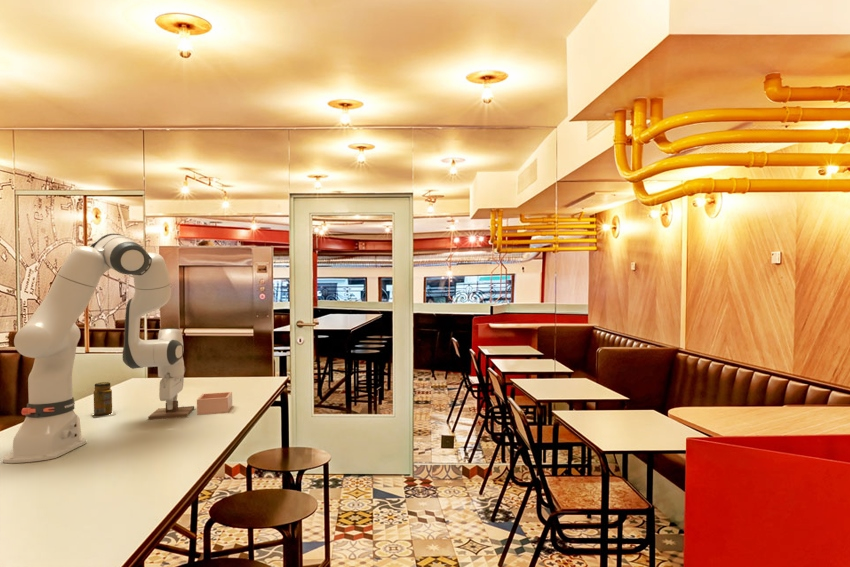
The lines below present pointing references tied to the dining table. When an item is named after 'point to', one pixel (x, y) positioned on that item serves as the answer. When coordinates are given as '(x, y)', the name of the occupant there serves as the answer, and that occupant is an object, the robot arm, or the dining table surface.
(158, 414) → the walnut lid
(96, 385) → the condiment
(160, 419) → the pale green square mat
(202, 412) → the pink rectangular planter
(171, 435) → the dining table surface
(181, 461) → the dining table surface
